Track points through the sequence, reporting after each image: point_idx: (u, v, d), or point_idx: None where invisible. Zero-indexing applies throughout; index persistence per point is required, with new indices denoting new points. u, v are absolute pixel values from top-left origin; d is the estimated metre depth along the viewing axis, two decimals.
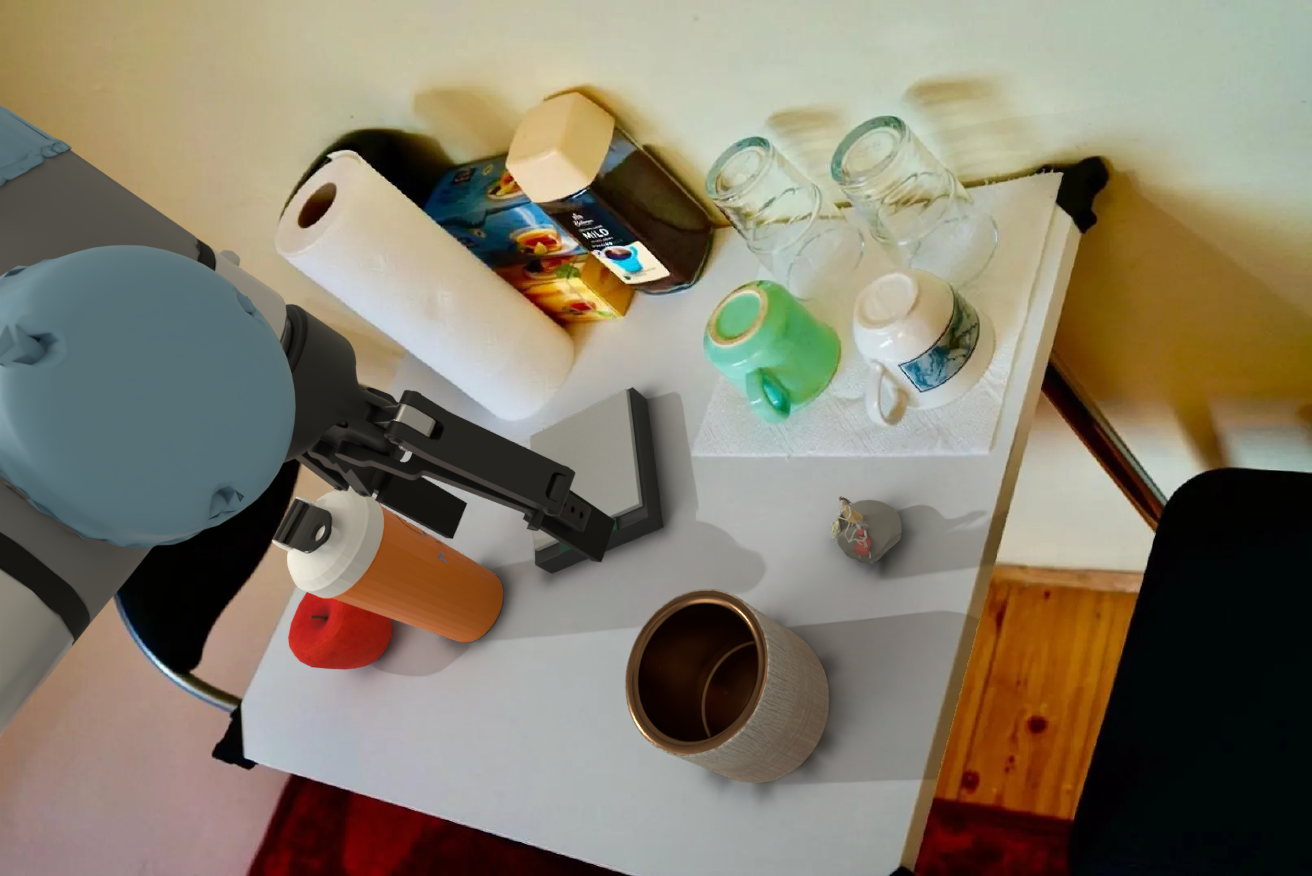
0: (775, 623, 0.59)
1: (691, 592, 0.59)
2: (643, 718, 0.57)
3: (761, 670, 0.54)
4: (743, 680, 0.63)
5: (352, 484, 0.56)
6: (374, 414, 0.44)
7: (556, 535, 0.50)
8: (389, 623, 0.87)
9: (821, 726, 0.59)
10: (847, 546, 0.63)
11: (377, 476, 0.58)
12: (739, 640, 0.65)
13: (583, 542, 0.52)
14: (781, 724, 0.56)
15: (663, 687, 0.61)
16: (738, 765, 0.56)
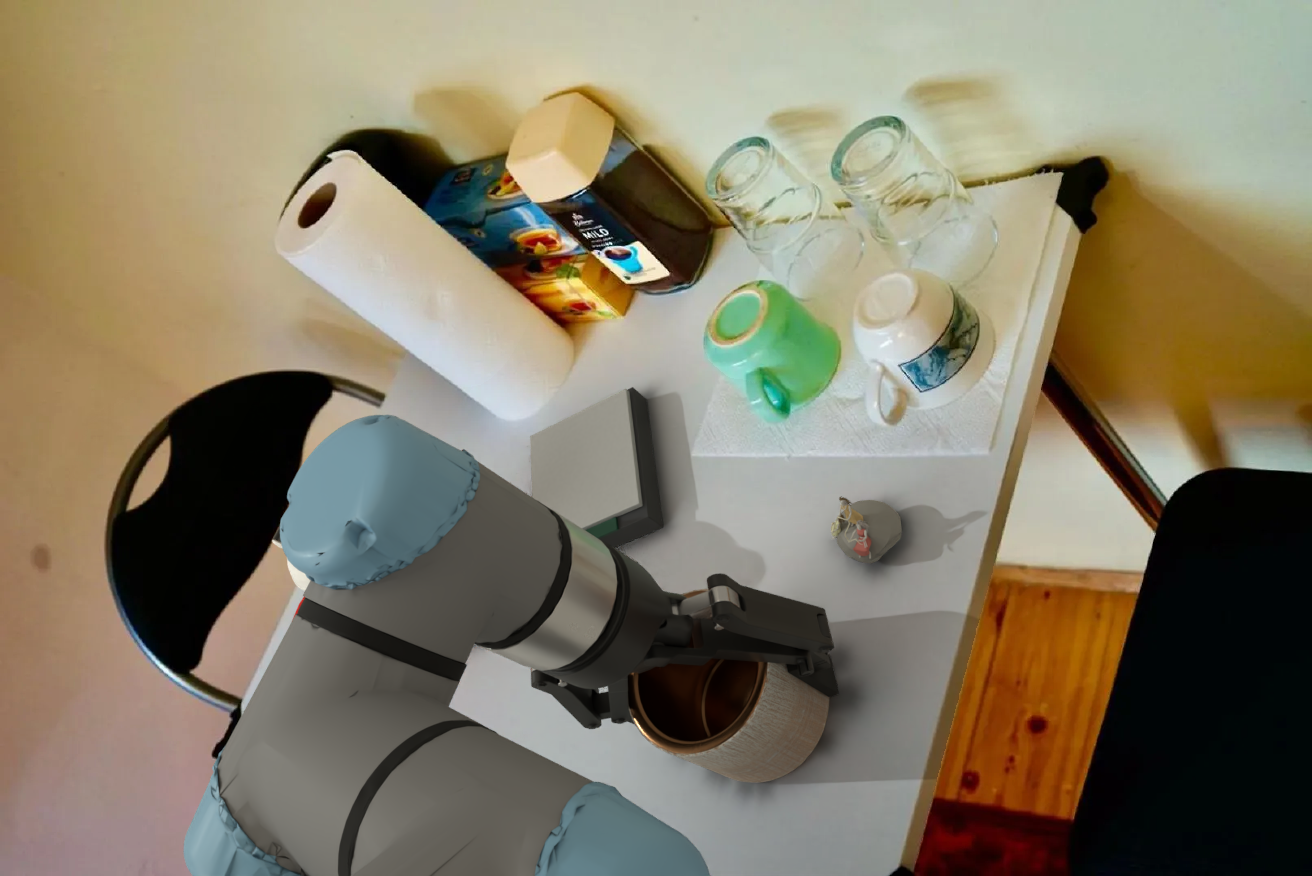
0: None
1: (691, 592, 0.59)
2: (643, 718, 0.57)
3: (761, 670, 0.54)
4: (743, 680, 0.63)
5: (614, 712, 0.58)
6: (680, 608, 0.49)
7: (812, 678, 0.57)
8: None
9: (821, 726, 0.59)
10: (847, 546, 0.63)
11: None
12: None
13: (825, 679, 0.58)
14: (781, 724, 0.56)
15: (663, 687, 0.61)
16: (738, 765, 0.56)
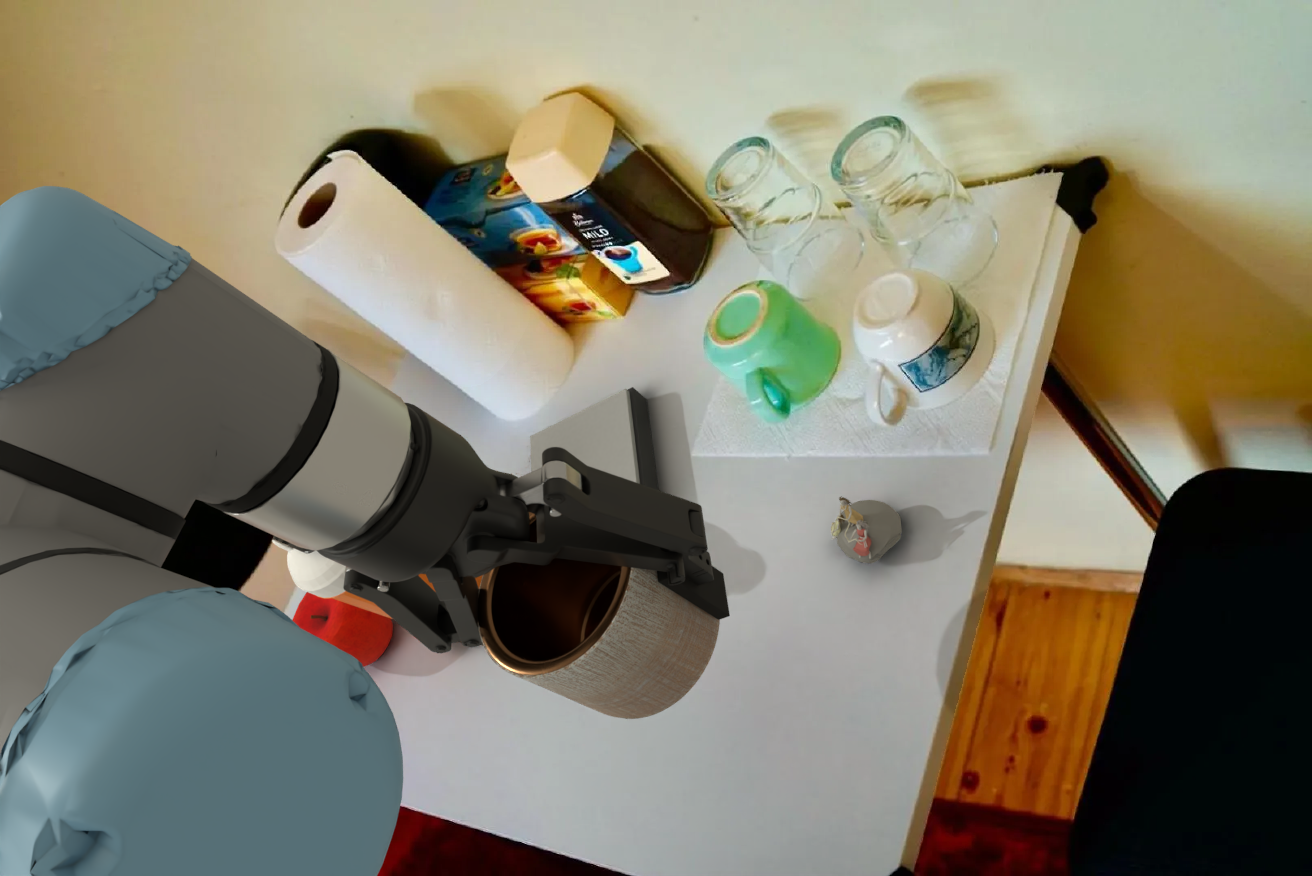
0: None
1: None
2: (492, 637, 0.48)
3: (623, 576, 0.45)
4: None
5: (462, 630, 0.50)
6: (509, 489, 0.41)
7: (690, 592, 0.48)
8: (389, 623, 0.87)
9: (707, 652, 0.50)
10: (847, 546, 0.63)
11: None
12: None
13: (710, 596, 0.50)
14: (650, 643, 0.47)
15: (528, 607, 0.53)
16: (601, 692, 0.48)
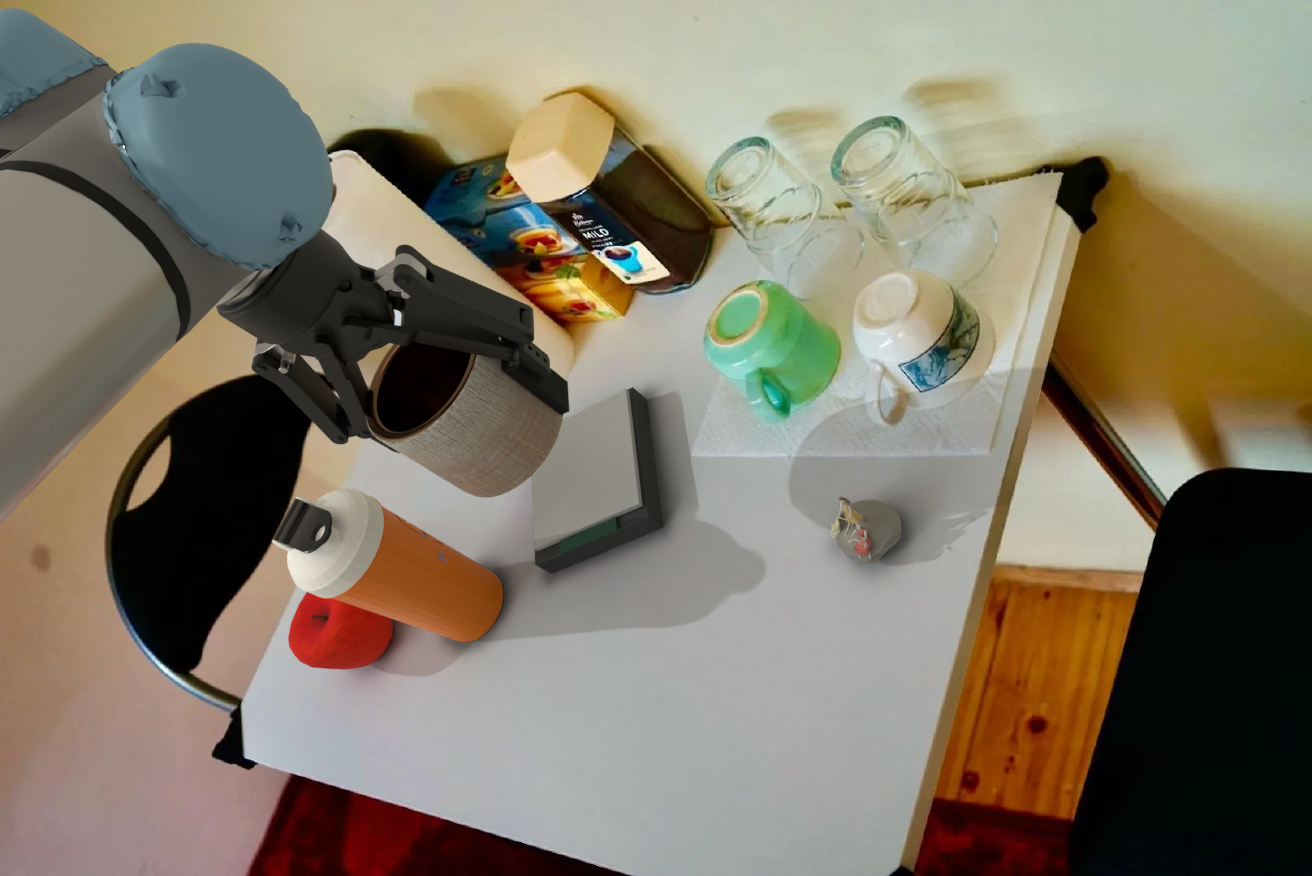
0: None
1: None
2: (375, 420, 0.61)
3: (471, 361, 0.58)
4: None
5: (353, 420, 0.62)
6: (371, 278, 0.54)
7: (530, 382, 0.61)
8: (389, 623, 0.87)
9: (550, 438, 0.64)
10: (847, 546, 0.63)
11: None
12: None
13: (551, 391, 0.63)
14: (496, 419, 0.60)
15: (411, 410, 0.66)
16: (460, 460, 0.61)
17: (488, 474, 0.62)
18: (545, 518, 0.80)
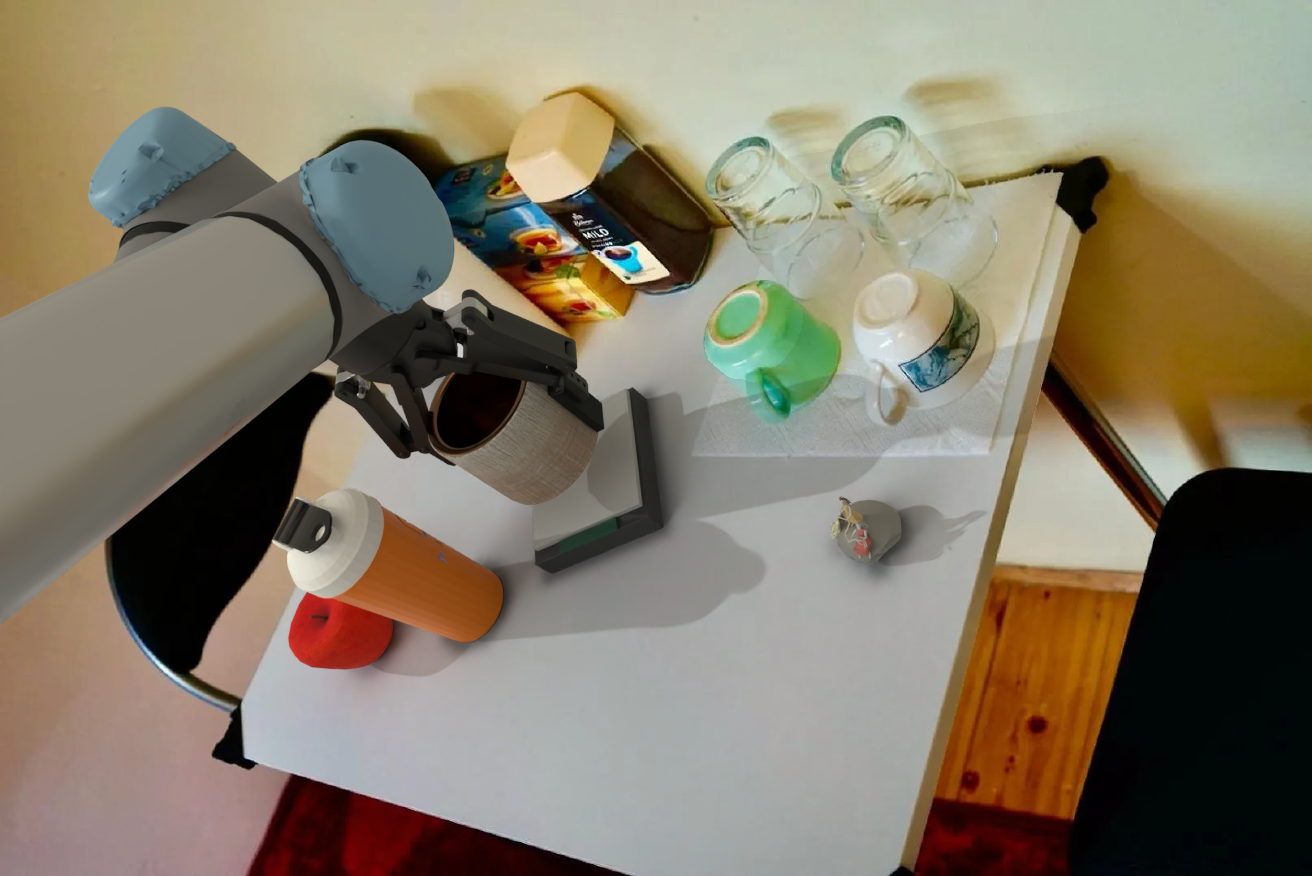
0: None
1: None
2: (436, 438, 0.71)
3: (522, 387, 0.68)
4: None
5: (417, 437, 0.72)
6: (441, 317, 0.63)
7: (572, 404, 0.70)
8: (389, 623, 0.87)
9: (587, 452, 0.73)
10: (847, 546, 0.63)
11: None
12: None
13: (589, 412, 0.72)
14: (543, 436, 0.69)
15: (464, 428, 0.75)
16: (511, 472, 0.70)
17: (534, 484, 0.71)
18: (545, 518, 0.80)
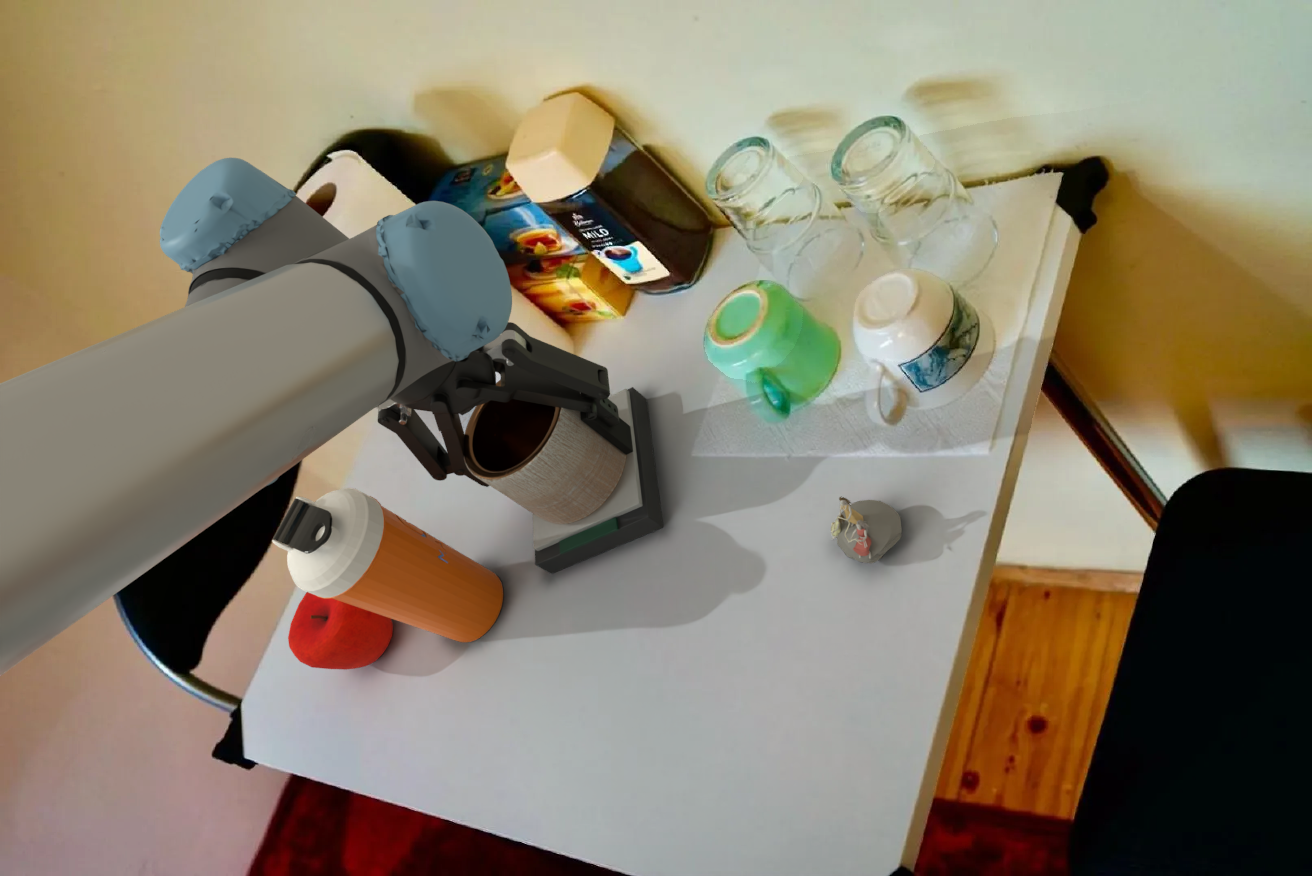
0: None
1: None
2: (473, 461, 0.74)
3: (556, 413, 0.71)
4: None
5: (453, 460, 0.75)
6: (481, 349, 0.66)
7: (603, 429, 0.73)
8: (389, 623, 0.87)
9: (617, 474, 0.76)
10: (847, 546, 0.63)
11: None
12: None
13: (618, 436, 0.75)
14: (575, 460, 0.72)
15: (497, 450, 0.78)
16: (544, 494, 0.73)
17: (566, 505, 0.74)
18: None
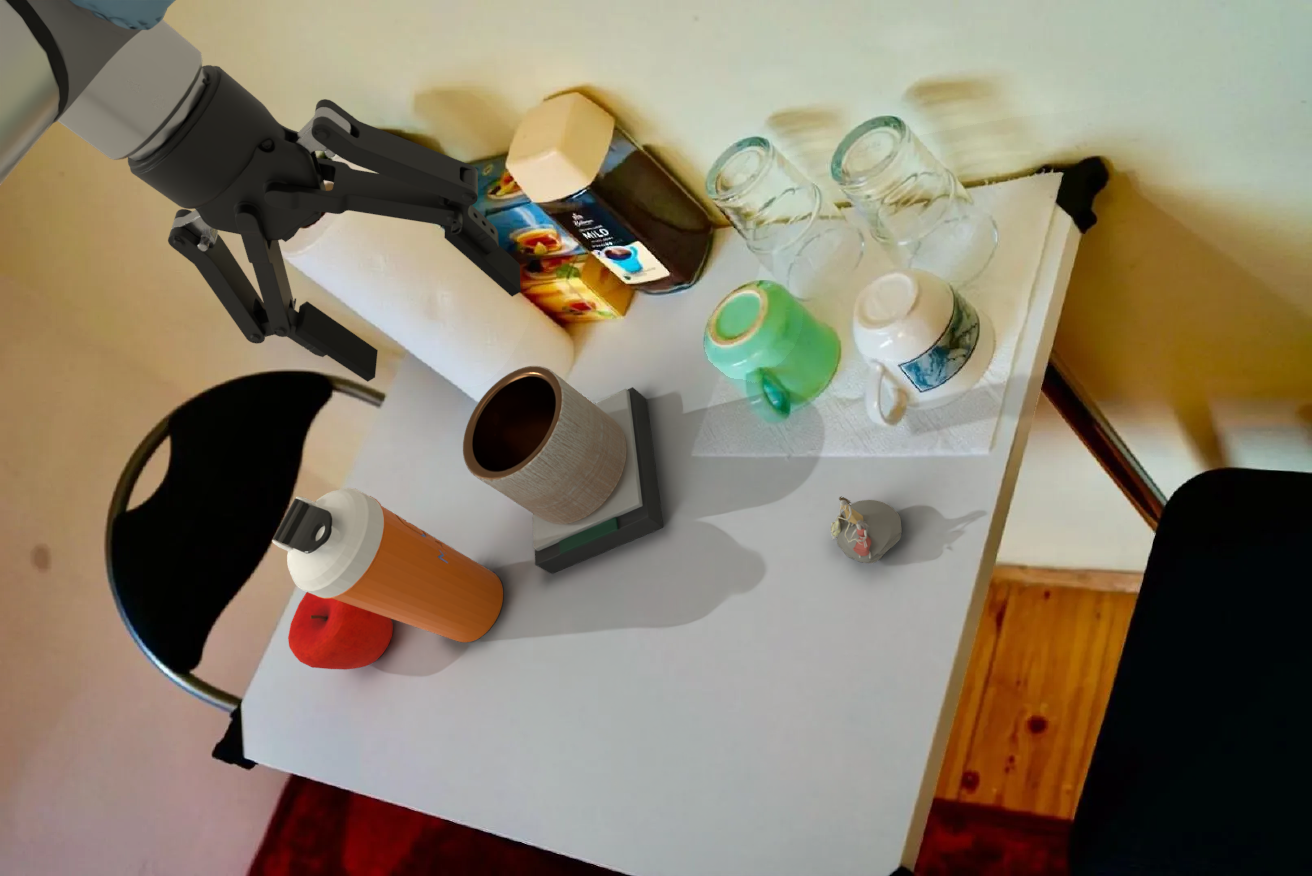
0: (581, 394, 0.76)
1: (516, 370, 0.76)
2: (473, 461, 0.74)
3: (556, 413, 0.71)
4: None
5: (271, 312, 0.59)
6: (294, 139, 0.51)
7: (476, 254, 0.57)
8: (389, 623, 0.87)
9: (617, 474, 0.76)
10: (847, 546, 0.63)
11: (290, 314, 0.61)
12: None
13: (500, 268, 0.59)
14: (575, 460, 0.72)
15: (497, 450, 0.78)
16: (544, 494, 0.73)
17: (566, 505, 0.74)
18: None
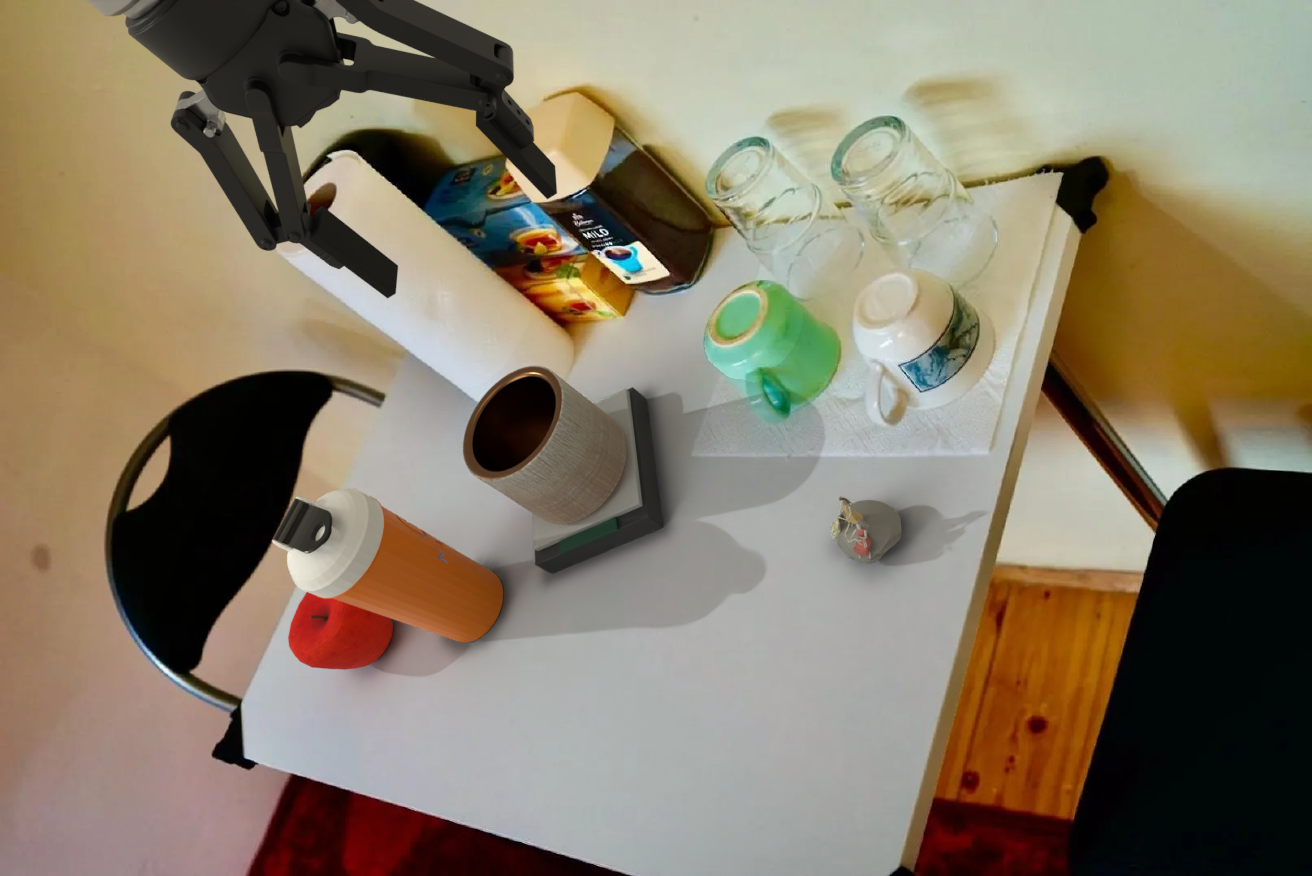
0: (581, 394, 0.76)
1: (516, 370, 0.76)
2: (473, 461, 0.74)
3: (556, 413, 0.71)
4: None
5: (284, 214, 0.54)
6: (311, 4, 0.45)
7: (510, 147, 0.52)
8: (389, 623, 0.87)
9: (617, 474, 0.76)
10: (847, 546, 0.63)
11: (305, 218, 0.56)
12: None
13: (535, 165, 0.54)
14: (575, 460, 0.72)
15: (497, 450, 0.78)
16: (544, 494, 0.73)
17: (566, 505, 0.74)
18: None
